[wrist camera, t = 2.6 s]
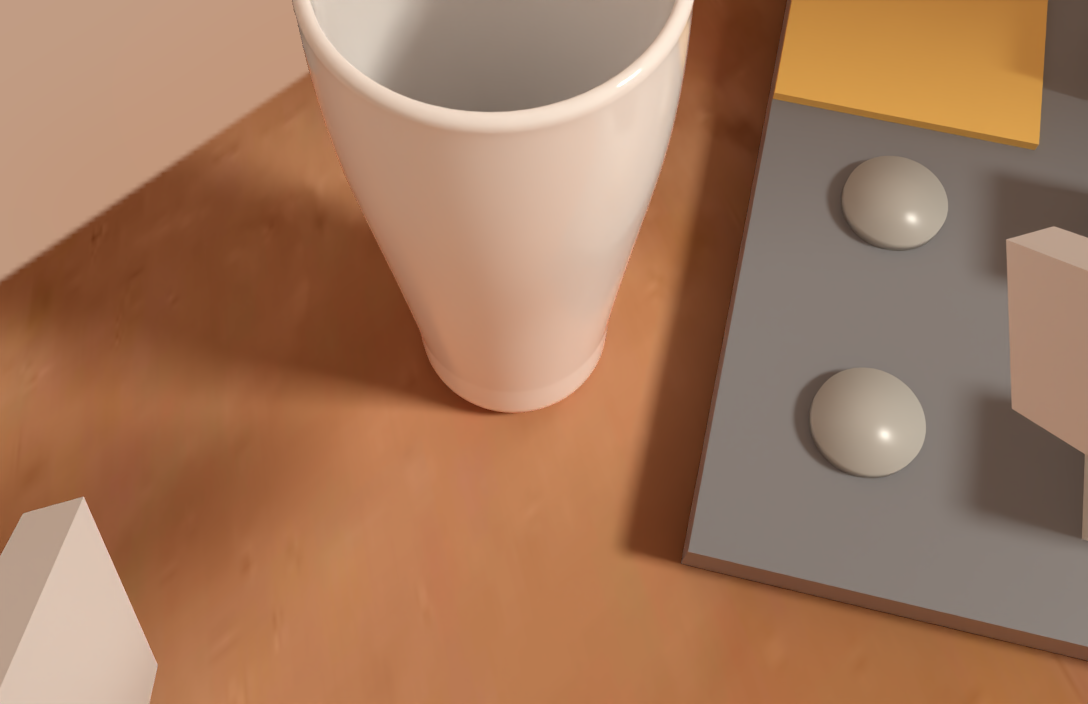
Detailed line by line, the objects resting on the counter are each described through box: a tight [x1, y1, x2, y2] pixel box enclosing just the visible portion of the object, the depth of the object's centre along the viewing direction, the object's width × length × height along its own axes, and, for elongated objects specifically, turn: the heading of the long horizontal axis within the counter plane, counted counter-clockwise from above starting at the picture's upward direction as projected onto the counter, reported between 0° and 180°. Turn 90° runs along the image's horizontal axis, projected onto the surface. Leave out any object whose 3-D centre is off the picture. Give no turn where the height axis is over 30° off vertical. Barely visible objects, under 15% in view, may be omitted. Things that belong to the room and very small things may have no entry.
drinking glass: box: [292, 0, 694, 413], centre depth 23 cm, size 7×7×15 cm
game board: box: [681, 0, 1088, 661], centre depth 29 cm, size 14×23×4 cm, turn 166°
